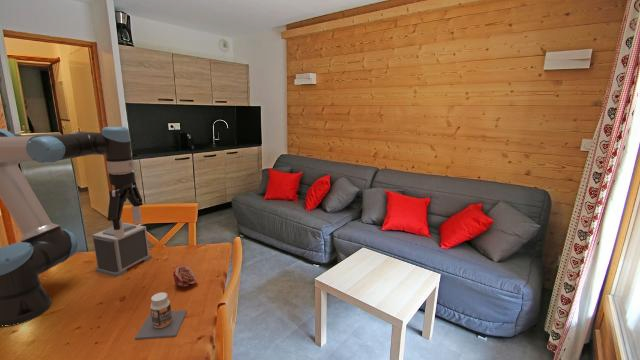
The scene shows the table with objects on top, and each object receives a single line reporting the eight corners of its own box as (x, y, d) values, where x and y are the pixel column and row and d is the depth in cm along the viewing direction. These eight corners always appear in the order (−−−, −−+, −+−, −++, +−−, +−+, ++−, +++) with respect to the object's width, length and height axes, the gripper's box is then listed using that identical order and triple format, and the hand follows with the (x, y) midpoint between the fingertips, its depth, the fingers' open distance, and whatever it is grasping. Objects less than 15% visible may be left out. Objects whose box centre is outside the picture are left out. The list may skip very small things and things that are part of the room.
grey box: (131, 253, 148) (126, 217, 144) (153, 257, 144) (148, 221, 140) (94, 271, 131) (87, 232, 127) (117, 277, 127) (110, 237, 123)
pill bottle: (164, 330, 97) (160, 303, 95) (148, 327, 98) (145, 300, 96) (175, 318, 103) (173, 292, 100) (160, 316, 104) (157, 290, 101)
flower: (164, 289, 117) (175, 275, 115) (168, 273, 125) (179, 259, 123) (188, 297, 121) (199, 283, 120) (191, 280, 129) (201, 267, 128)
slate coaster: (135, 339, 94) (134, 338, 94) (150, 314, 106) (150, 312, 105) (175, 336, 96) (175, 334, 95) (186, 311, 107) (186, 310, 107)
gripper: (114, 180, 93) (123, 244, 98) (148, 165, 117) (154, 217, 122) (87, 180, 92) (98, 245, 97) (127, 165, 116) (133, 217, 121)
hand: (129, 229), depth 110 cm, fingers open, 13 cm apart
